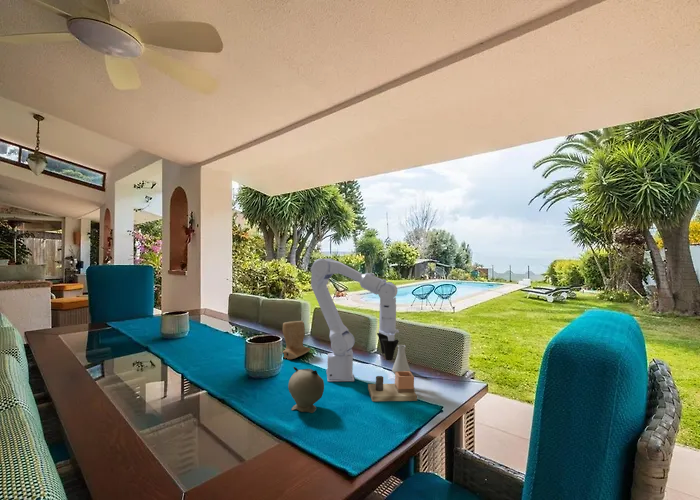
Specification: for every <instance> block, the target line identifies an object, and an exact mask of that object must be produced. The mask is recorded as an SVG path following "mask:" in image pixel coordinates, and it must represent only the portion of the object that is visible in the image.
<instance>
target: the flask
mask: <svg viewBox="0 0 700 500" xmlns="http://www.w3.org/2000/svg"><path fill="white" fill-rule="evenodd" d="M406 348H407V346H406V345H404V344H397V354H396V358H395V360H394V363H393V366H392V369H391V372H392V373H394V374H395V371H410V372H411V369H410V368H411V367H410V366H409V362H408V359H407V356H406ZM411 373H412V372H411Z"/></svg>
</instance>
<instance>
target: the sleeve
mask: <svg viewBox="0 0 700 500" xmlns="http://www.w3.org/2000/svg"><path fill="white" fill-rule="evenodd" d="M410 371H411V370H410ZM410 371H395V373H394V384H395V388H396V390H397V391H398V393H414V391H415V375H413V373H412V372H410Z"/></svg>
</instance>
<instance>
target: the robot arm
mask: <svg viewBox="0 0 700 500" xmlns="http://www.w3.org/2000/svg"><path fill="white" fill-rule="evenodd" d="M310 272H311V279H310V287H311V289H312V292H313V294H314V297H315V298H316V301H317V303H318V306H319V308H320V310H321V313H322V315H323V318H324V319H325V321H326V324H327V326H328V328H329V340H330V348H331V351H332V352H329V353H328V352H327V364H326V365H327V366H326V371H325V372H326V373H325V374H326V378H327V382H355V376H354V373H353V370H354V368H353V365H354V363H353V361H354V360H353V359H354V352H353V351H354V350H353V347H354V346H355V342H356V339H355V337H354V335H353V334H352V332H350V330H349V328H348V327H347V326H346V325H345V324H344V323H343V320H342V318H341V316H340V314H339V311H338V309H337V307H336V305H335V303H334V300H333V297H332V295H331V293H330V291H329V289H328V287H327V285H328V283H329V280H330V278H331V277H332V276H333V275H334V274H336V275H337V274H338V275H339V274H340V275H342V276H344V277H346V278H349V279H351V280H353V281H356V282H358V283H359V285H360V288H362V289H364V290H366V291H368V292H370V293H372V294H374V295H376V296H377V295H378V297H379V300H380V301H379V322H378V323H379V327H378V332H377V333H376V334H377V337H378V341H379V344H380V350H381V353H382V354H384V357H385V360H386V361H393V359H394V355H395V350H396V348H397V347H398V345H399V340H398V339H396V338H395V335H396V334H399V333H400V330H399V329H397V328H396V326H397V324H396V323H397V304H396V303H397V298H396V296H397V295H398V288H397V285H395V284H394V283H393V282H391V281H388V280H387V279H385V278H384V279H382V278H380V277H378V276H376V274H375V273H373V272H370V273H369V272H366V273H362V272H360V271H358V270H356V269H354V268H352V267H351V266H348V265H347V264H344V263H342V262H340V261H338V260H334V259H333V258H330V257H329V258H328V257H327V258H317V259H315V261H313V263H312V265H311V267H310Z"/></svg>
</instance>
